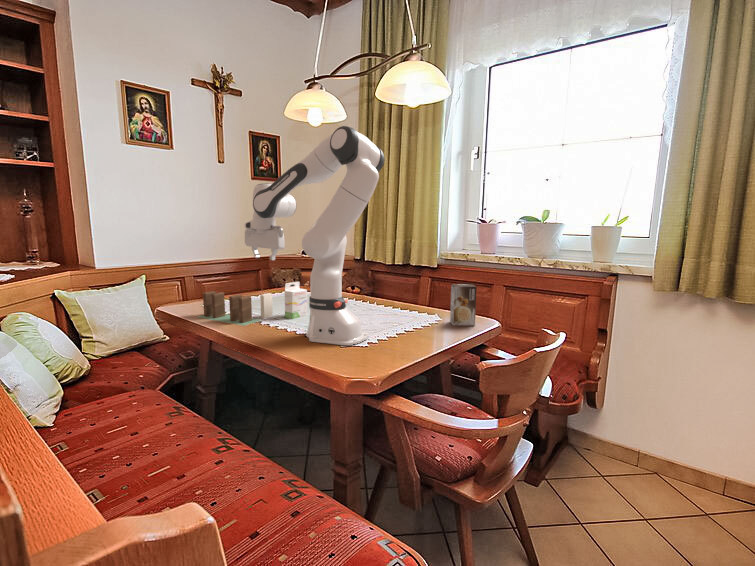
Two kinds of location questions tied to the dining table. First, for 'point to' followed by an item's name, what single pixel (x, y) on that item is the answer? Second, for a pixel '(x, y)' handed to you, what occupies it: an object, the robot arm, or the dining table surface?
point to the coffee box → (463, 304)
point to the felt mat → (227, 320)
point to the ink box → (295, 301)
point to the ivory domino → (266, 305)
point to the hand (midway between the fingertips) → (264, 258)
